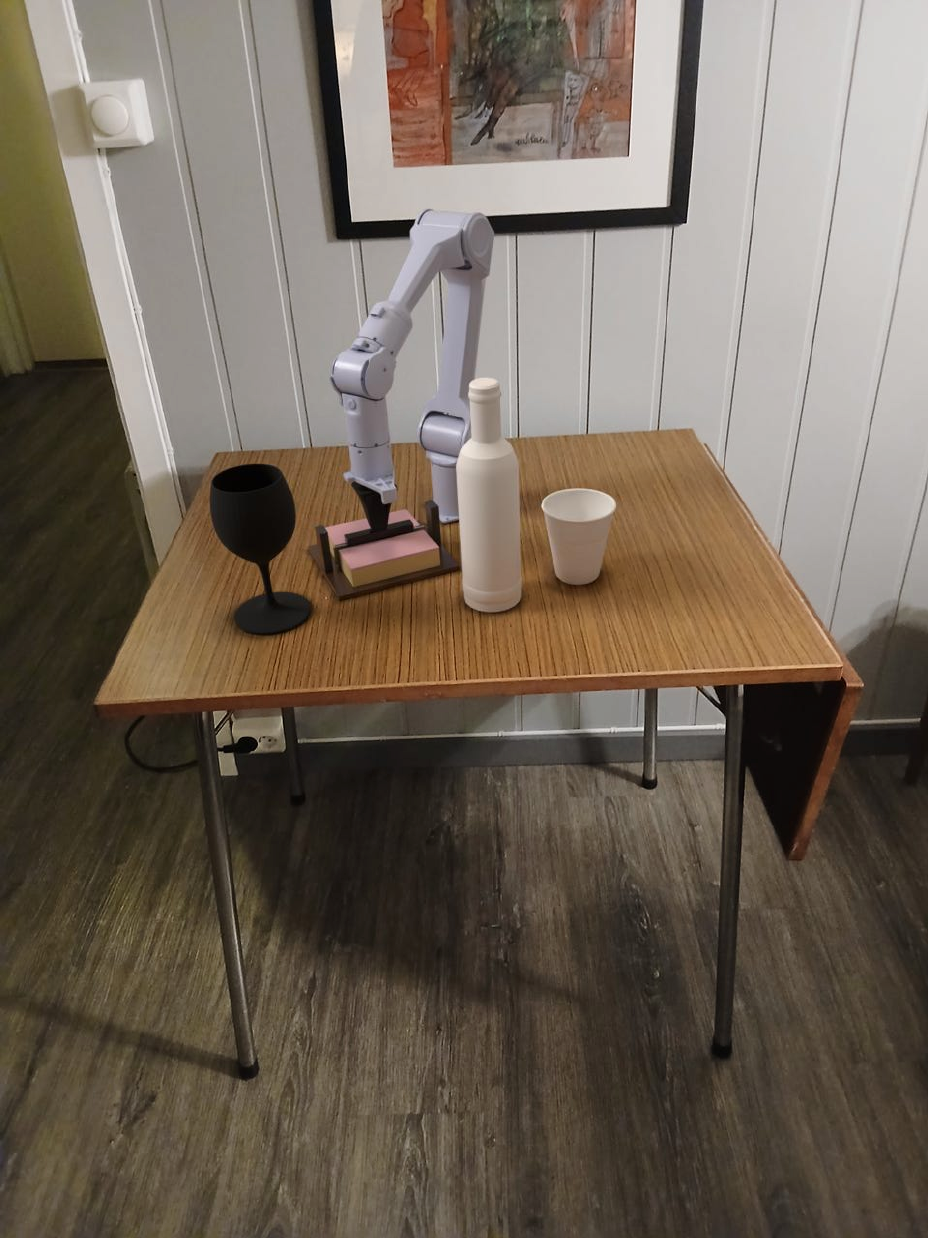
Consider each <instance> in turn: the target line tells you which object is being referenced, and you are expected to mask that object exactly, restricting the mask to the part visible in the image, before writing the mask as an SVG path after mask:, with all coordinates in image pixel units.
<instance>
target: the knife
mask: <svg viewBox="0 0 928 1238" xmlns="http://www.w3.org/2000/svg"><path fill="white" fill-rule="evenodd" d="M425 526H426V525H425V524H424V525H423V526H419V527H415V528H414V525H413V523H412V521H411V520H410V519H408V520H404V521H400V522H395V523H391V524H388V526H387V529H386V530H382V531H378V532H373V531H372V529H371V528H370V529H366V530H361V531H357V532H353V533H349V534H345V535H344V537H345V542H346V543H347V544H343V545H339V546H335V547H333V551H334V558H335V564H336V565H337V564H340V557H339V551H338V550H341V549H345V548H349V547H353V546H358V545H362V544H366V543H370V542H374V541H378V540H383V539H387V538H391V537H395V536H399V535H404V534H408V533H412V532H416V531H420V530H425V532H426V528H425Z"/></svg>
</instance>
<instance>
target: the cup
mask: <svg viewBox="0 0 928 1238" xmlns="http://www.w3.org/2000/svg"><path fill="white" fill-rule="evenodd" d="M616 502H617V501H616V500H615V499H614V498H613V497H612V496H611V495H609V494H608V493H605V492H603V491H600V490H596V489H591V488H582V487H581V488H580V487H578V488H576V487H575V488H566V489H565V488H564V489H562V490H557V491H555V492H552V493H550V494H548V495H547V496H545V498H543V500H542V503H541V505H540V506H541V509H542V511H543V514H544V518H545V525H546V531H547V536H548V541H549V547H550V552H551V558H552V563H553V569H554V574H555V576H556V577H557V578H558V579H559V581H561V582H563V583H566V584H567V585H572V586H582V585H583V586H584V585H587V584H590V583H592V582H594V581H595V580H597V578H599V576H600V573H601V570H602V569H601V568H602V564H603V560H604V555H605V550H606V546H607V542H608V537H609V533H610V530H611V529H610V528H611V526H612V525H611V524H612V520H613V515H614V513H615V511H616V510H617V503H616Z"/></svg>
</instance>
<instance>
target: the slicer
mask: <svg viewBox="0 0 928 1238" xmlns="http://www.w3.org/2000/svg"><path fill="white" fill-rule="evenodd" d="M433 500H434V499H430V500H425V501H424V503H425V504H424V505H425V517H426V525H425V524H424V522H423V521H422V520H421V519H418V520H416V521H417V522H418V523H419V525H420V526H423V525H425V528H426V533H427V534H428V535H429V536H430V537H431V538H432V540H433V541H434V542H435V543H436V544H437V545H438V547H439V556H440V566H436V567H432V568H428V569H424V570H420V571H416V572H412V573H408V574H404V575H400V576H396V577H392V578H388V579H384V580H380V581H376V582H373V583H369V584H365V585H361V586H357V587H353V586H352V584H351V583H350V581H349V580H348V578H347V577H346V575H345V573H344V572H343V570H342V569H341V564H337V565H336V564H335V558H334V557H333V555H332V553H331V551H330V544H329V537H328V532H327V530H326V529H325V528H326V527H325V526H324V524H321V525H317V526H315V527H314V529H315V536H316V544H312V545H309V546H307V548H308V552H309V553H310V555H311V556H312V558H313V560H314V562H315V564H316V565H317V567H318V568H319V570H320V572H321V573H322V574H323V576H324V578H325V580H326V582H327V583H328V585H329V587H330V588H331V590H332V592H333V593H334V595H335V596H336V598H337V600H338V601H339V602H340V601H344V600H348V599H352V598H355V597H360V596H364V595H367V594H372V593H375V592H380V591H382V590H388V589H392V588H395V587H398V586H403V585H406V584H410V583H414V582H419V581H422V580H427V579H429V578H434V577H437V576H441V575H445V574H450V573H453V572H457V571H460V570H461V567H460V566H461V565H460V564H459V562H458V561H457V560H456V559H455V558H454V557H453V556H452V555H451V554H450V552H449V551H448V550H447V548H445V547H444V545H443V544H442V538H441V537H442V536H441V521H440V520H439V506H438V505H437V504H436V503H435V502H434V501H433Z"/></svg>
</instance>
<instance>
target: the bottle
mask: <svg viewBox="0 0 928 1238" xmlns="http://www.w3.org/2000/svg"><path fill="white" fill-rule="evenodd" d="M500 386H501V385H500V382H499V381H498V380H497V379H495V378H493V377H479V378H475V380H473V381H471V382H470V384H469V392H468V397H469V399H470V417H471V438H470V439H469V440H468V441H467V442H466V443H465V444H464V445H463V446H462V448H461V450H460V454H459V457H458V460H457V464H456V473H457V490H458V506H459V520H458V521H459V537H460V555H461V556H460V558H461V571H462V572H461V573H462V579H461V584H462V585H461V587H462V590H463V599H464V602H465V604H466V605H467V606H469V608H471V609H472V610H473V609H474V610H475V611H478V612H483V613H489V614H490V613H500V612H506V611H508V610H510V609H512V608H514V607H516V606H517V605H518V604H519V603H520V601H521V599H522V588H523V578H522V577H523V576H522V560H521V559H522V555H521V554H522V553H521V552H522V551H521V510H520V509H521V508H520V507H521V505H520V504H521V503H520V502H521V501H520V463H519V459H518V457H517V454H516V452H515V449H514V447H513V445H512V444H511V442H509V441H508V440H507V439H505V438H504V437H503V436H502V423H501V421H502V420H501V419H502V417H501V396H502V391H501V388H500Z"/></svg>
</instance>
